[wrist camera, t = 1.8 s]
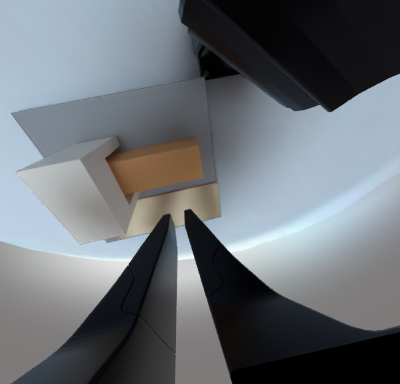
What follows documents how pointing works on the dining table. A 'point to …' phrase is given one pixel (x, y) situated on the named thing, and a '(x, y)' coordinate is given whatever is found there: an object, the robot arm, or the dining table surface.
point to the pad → (174, 207)
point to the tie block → (82, 190)
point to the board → (129, 124)
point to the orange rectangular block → (156, 165)
